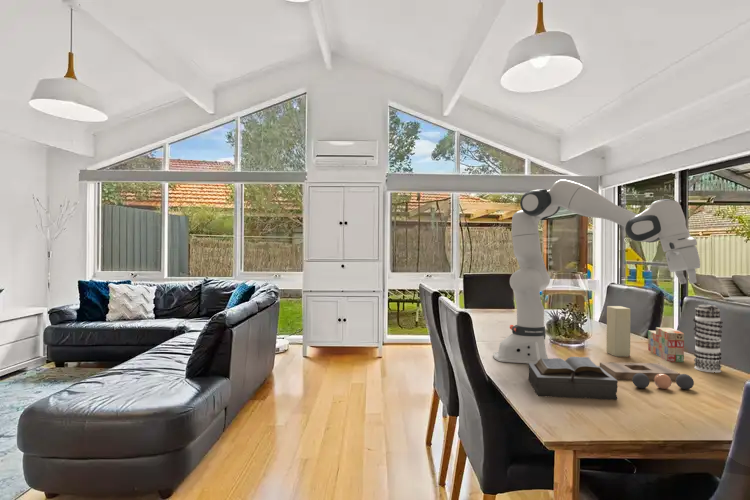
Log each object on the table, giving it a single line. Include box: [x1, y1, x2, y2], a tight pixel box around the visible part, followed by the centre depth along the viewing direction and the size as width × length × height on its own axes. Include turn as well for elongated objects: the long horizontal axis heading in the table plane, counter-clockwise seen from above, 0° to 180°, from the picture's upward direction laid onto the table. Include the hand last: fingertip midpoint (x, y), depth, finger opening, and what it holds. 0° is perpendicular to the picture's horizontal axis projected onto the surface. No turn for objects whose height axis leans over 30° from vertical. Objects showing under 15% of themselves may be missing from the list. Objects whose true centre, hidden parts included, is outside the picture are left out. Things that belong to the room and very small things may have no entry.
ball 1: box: [631, 373, 651, 389], centre depth 152 cm, size 5×5×5 cm
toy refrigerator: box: [606, 305, 632, 357], centre depth 199 cm, size 8×7×21 cm
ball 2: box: [675, 373, 695, 390], centre depth 150 cm, size 5×5×5 cm
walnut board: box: [599, 361, 681, 381], centre depth 168 cm, size 22×14×2 cm, turn 85°
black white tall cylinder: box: [692, 304, 723, 374], centre depth 174 cm, size 9×9×25 cm
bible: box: [527, 356, 619, 401], centre depth 151 cm, size 23×27×10 cm
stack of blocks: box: [647, 326, 685, 363], centre depth 197 cm, size 21×6×12 cm, turn 168°
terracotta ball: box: [653, 373, 673, 390], centre depth 151 cm, size 5×5×5 cm
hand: (688, 283), depth 153 cm, fingers open, 8 cm apart
